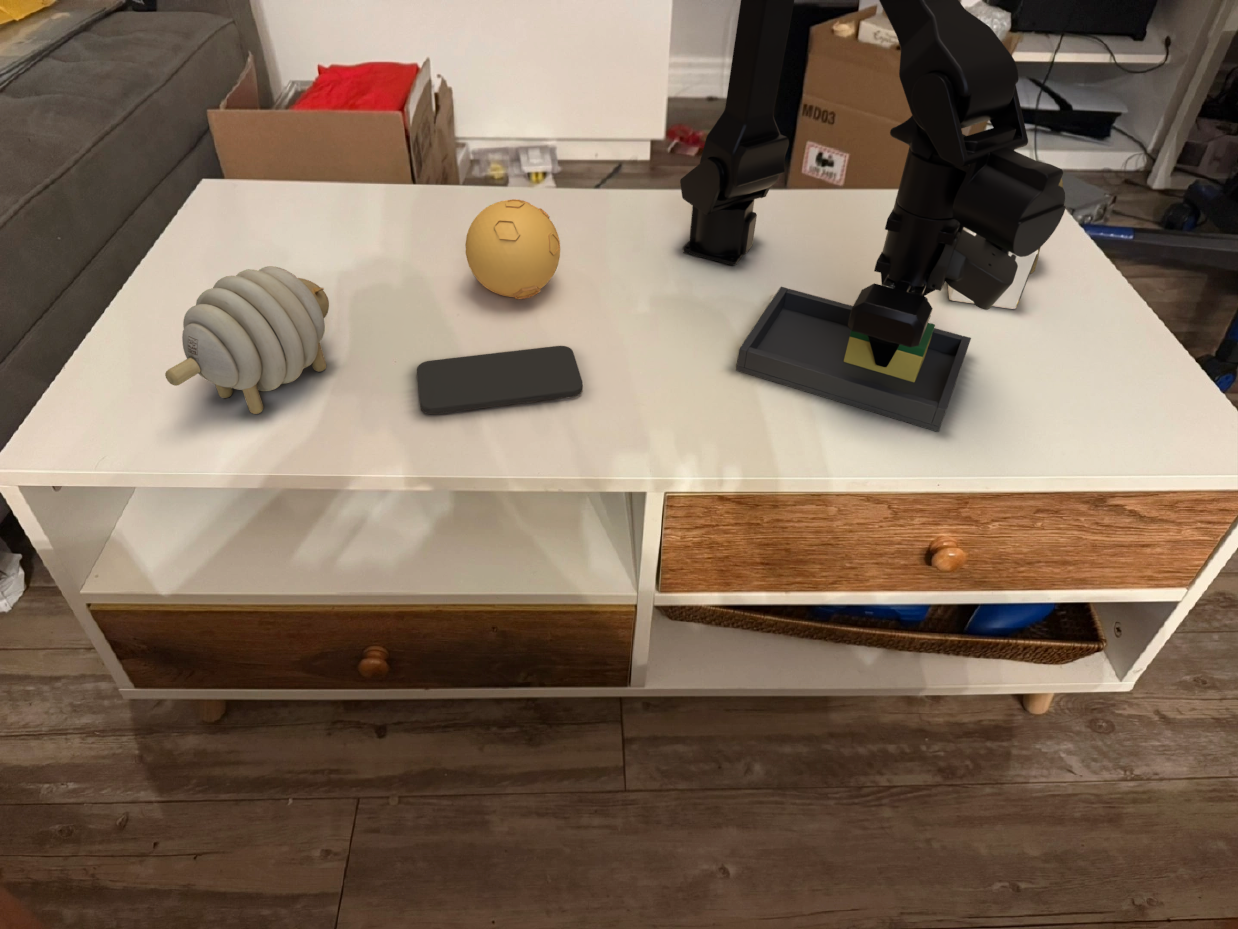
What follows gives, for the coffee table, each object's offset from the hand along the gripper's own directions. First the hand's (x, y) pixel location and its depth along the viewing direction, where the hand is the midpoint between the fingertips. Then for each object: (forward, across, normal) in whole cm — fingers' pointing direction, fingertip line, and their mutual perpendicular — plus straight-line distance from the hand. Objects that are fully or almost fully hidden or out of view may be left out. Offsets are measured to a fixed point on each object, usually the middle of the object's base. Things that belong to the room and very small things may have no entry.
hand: (887, 352), depth 87 cm
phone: (+2, -20, +32) cm, 38 cm away
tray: (+2, -1, +3) cm, 4 cm away
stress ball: (+2, -6, +39) cm, 39 cm away
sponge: (+1, 0, 0) cm, 1 cm away
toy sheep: (+2, -30, +51) cm, 59 cm away
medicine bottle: (+2, +19, -6) cm, 20 cm away
